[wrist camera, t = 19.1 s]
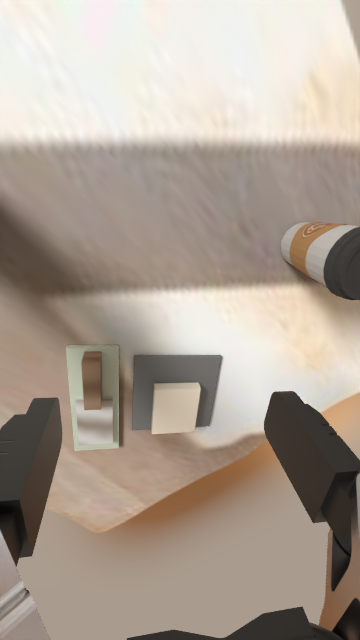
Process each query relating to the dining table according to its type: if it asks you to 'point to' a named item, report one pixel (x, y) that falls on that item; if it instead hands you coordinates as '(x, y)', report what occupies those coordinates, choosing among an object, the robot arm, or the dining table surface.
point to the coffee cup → (326, 255)
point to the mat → (173, 372)
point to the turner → (94, 404)
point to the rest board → (108, 384)
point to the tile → (175, 407)
